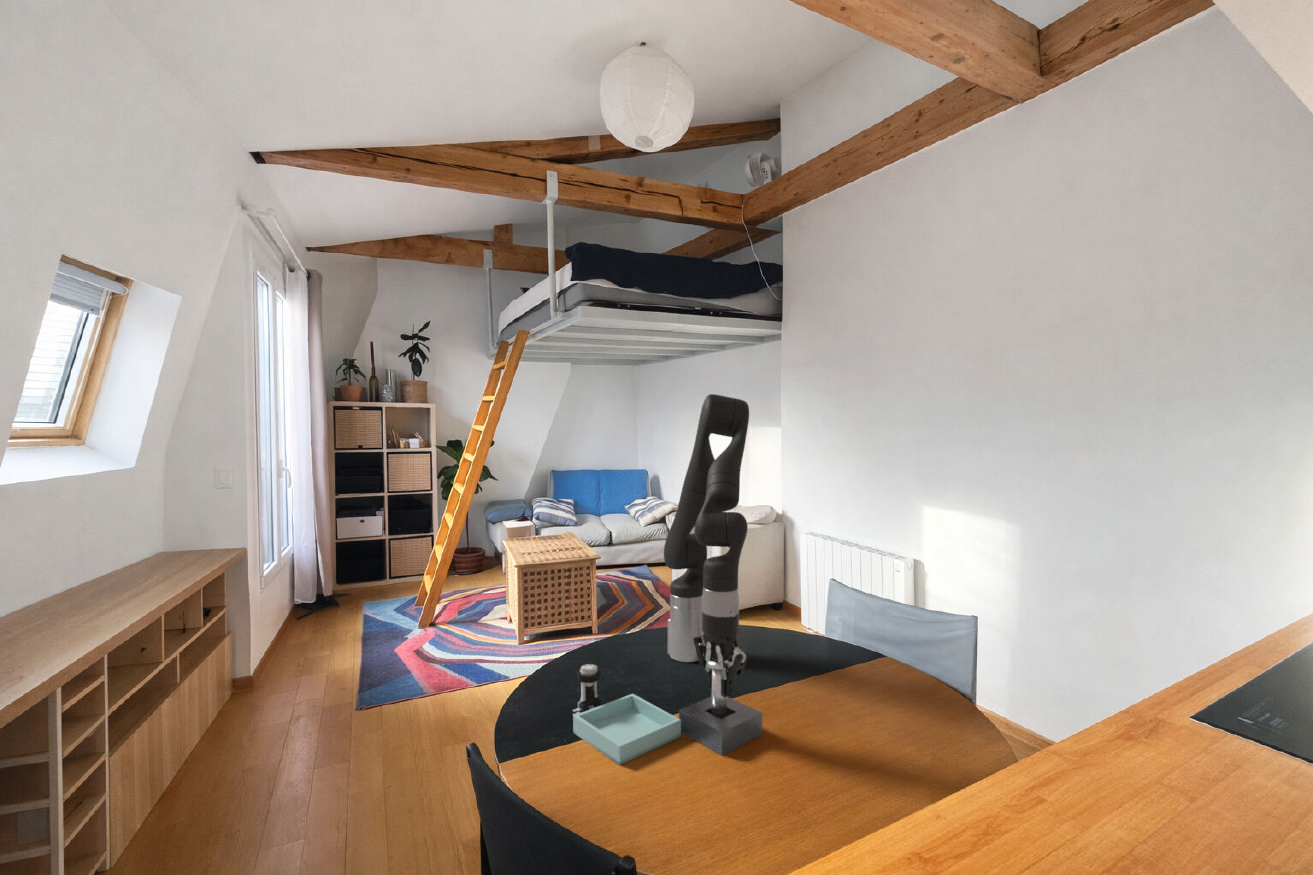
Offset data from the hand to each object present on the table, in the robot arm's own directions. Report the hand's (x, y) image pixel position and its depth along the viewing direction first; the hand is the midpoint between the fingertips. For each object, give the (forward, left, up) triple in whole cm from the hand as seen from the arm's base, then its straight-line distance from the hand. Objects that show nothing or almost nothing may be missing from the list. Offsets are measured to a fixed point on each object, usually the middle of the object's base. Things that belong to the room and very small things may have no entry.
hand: (719, 692), depth 125 cm
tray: (-12, -15, -8) cm, 21 cm away
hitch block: (0, 0, -8) cm, 8 cm away
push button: (-25, -16, -9) cm, 31 cm away
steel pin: (0, 0, -6) cm, 6 cm away
